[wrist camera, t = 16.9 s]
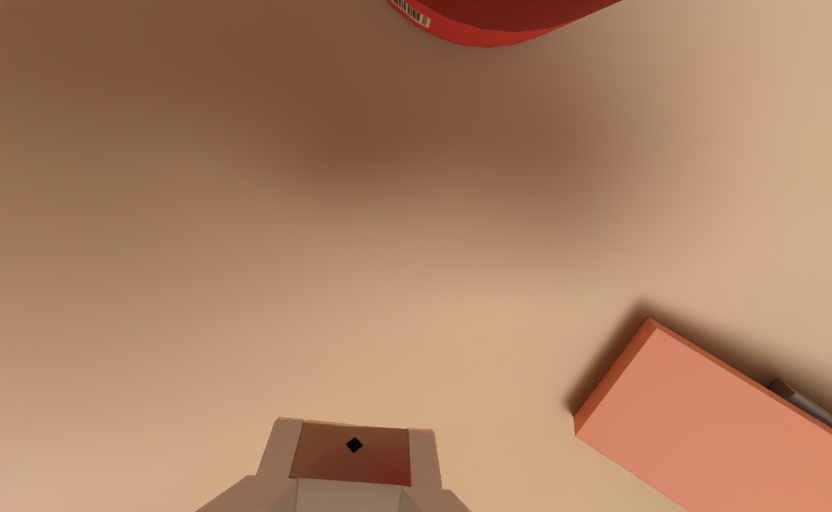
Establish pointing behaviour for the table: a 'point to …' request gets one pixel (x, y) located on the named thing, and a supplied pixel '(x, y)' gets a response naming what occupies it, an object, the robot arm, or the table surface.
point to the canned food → (494, 18)
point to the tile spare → (705, 430)
